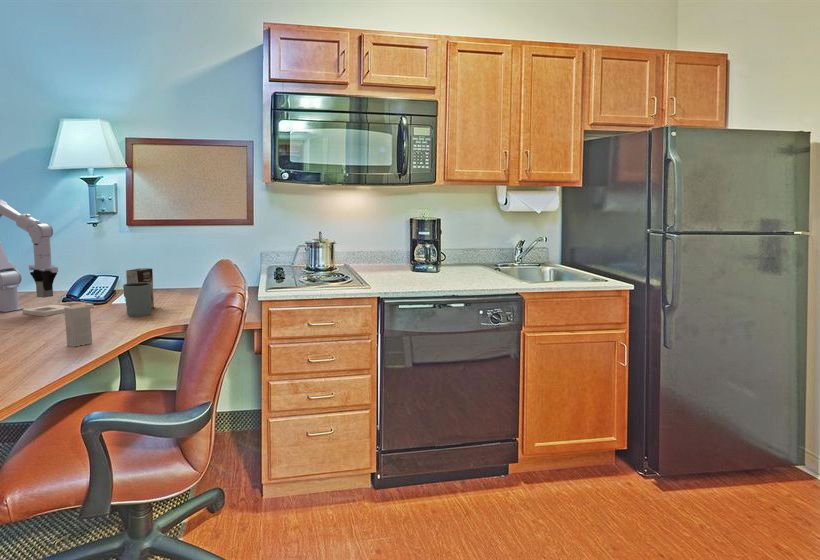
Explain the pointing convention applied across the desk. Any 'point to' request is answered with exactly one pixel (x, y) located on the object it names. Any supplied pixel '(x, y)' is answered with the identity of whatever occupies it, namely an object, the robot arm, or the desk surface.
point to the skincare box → (78, 325)
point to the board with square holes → (53, 308)
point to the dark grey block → (43, 290)
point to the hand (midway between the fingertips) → (44, 289)
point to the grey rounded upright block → (138, 298)
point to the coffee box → (141, 278)
